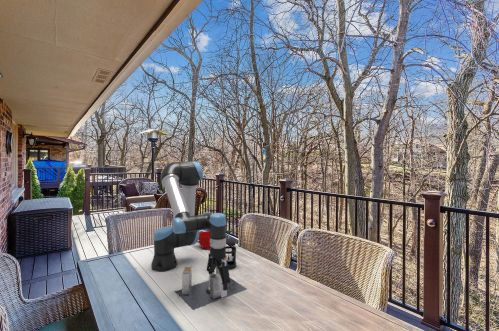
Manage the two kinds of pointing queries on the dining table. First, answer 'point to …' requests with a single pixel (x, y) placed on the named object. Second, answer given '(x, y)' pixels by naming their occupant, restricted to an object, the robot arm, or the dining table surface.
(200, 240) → the ceramic cup
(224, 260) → the white yellow slab
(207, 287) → the board
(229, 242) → the french press
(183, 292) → the orange and grey block
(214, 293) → the banded metal block
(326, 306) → the dining table surface
